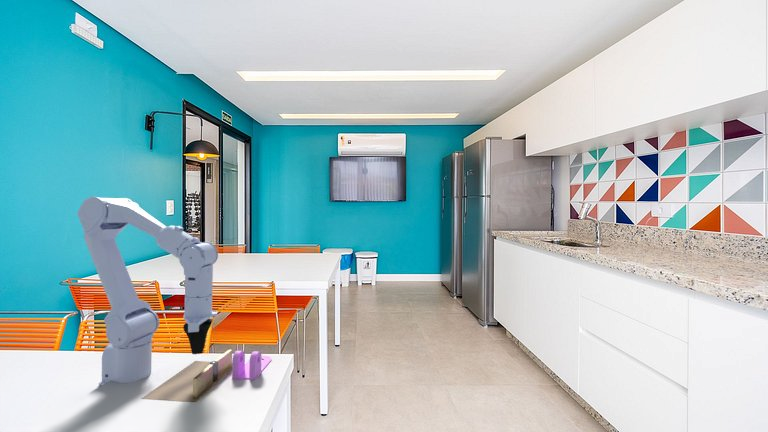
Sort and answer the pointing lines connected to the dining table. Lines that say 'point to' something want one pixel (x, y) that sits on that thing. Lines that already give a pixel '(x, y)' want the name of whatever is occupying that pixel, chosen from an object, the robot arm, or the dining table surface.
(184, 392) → the walnut board
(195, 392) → the swing leaf
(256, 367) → the bracket
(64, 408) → the dining table surface
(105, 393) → the dining table surface
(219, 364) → the fixed leaf
